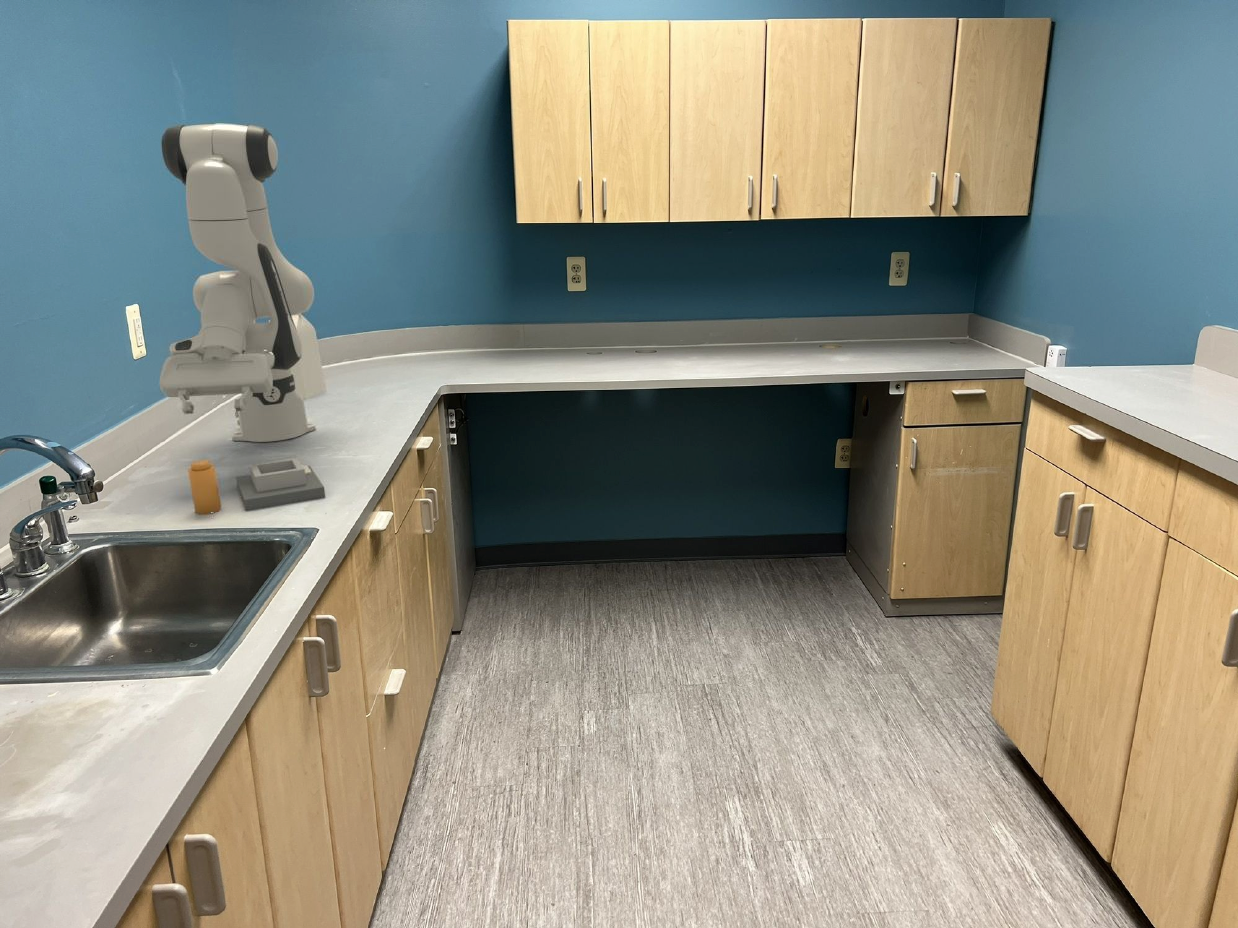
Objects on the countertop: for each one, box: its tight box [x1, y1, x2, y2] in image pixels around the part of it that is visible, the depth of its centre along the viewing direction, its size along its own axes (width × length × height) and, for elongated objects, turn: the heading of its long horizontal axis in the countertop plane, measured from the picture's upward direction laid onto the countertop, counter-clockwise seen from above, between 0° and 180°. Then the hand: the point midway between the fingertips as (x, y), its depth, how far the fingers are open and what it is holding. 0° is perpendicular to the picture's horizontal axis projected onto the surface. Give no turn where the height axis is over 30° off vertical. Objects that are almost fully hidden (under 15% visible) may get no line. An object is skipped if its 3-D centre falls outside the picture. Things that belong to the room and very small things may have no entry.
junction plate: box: [235, 457, 326, 511], centre depth 166 cm, size 16×14×5 cm
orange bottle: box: [187, 460, 222, 515], centre depth 157 cm, size 4×4×9 cm
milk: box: [268, 313, 327, 401], centre depth 248 cm, size 12×12×26 cm
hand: (213, 410), depth 165 cm, fingers open, 8 cm apart
